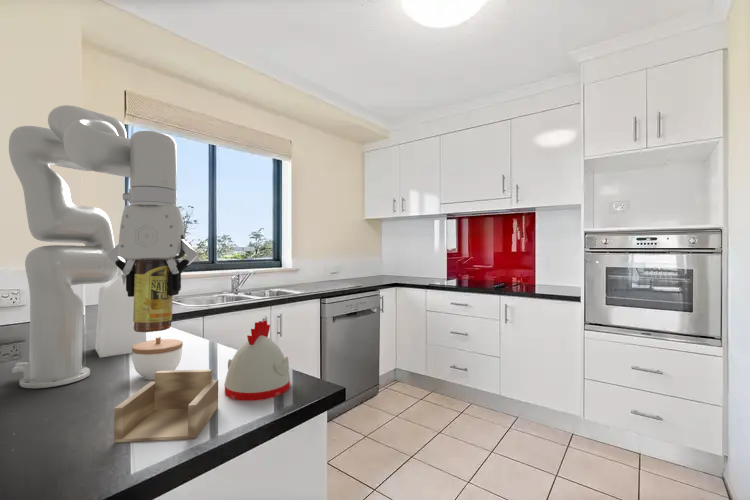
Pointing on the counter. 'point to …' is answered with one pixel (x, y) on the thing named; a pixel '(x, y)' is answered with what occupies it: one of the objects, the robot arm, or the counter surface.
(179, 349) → the lidded jar
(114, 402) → the counter surface
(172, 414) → the oak rest
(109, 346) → the milk
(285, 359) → the kitchen timer
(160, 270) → the sauce bottle
